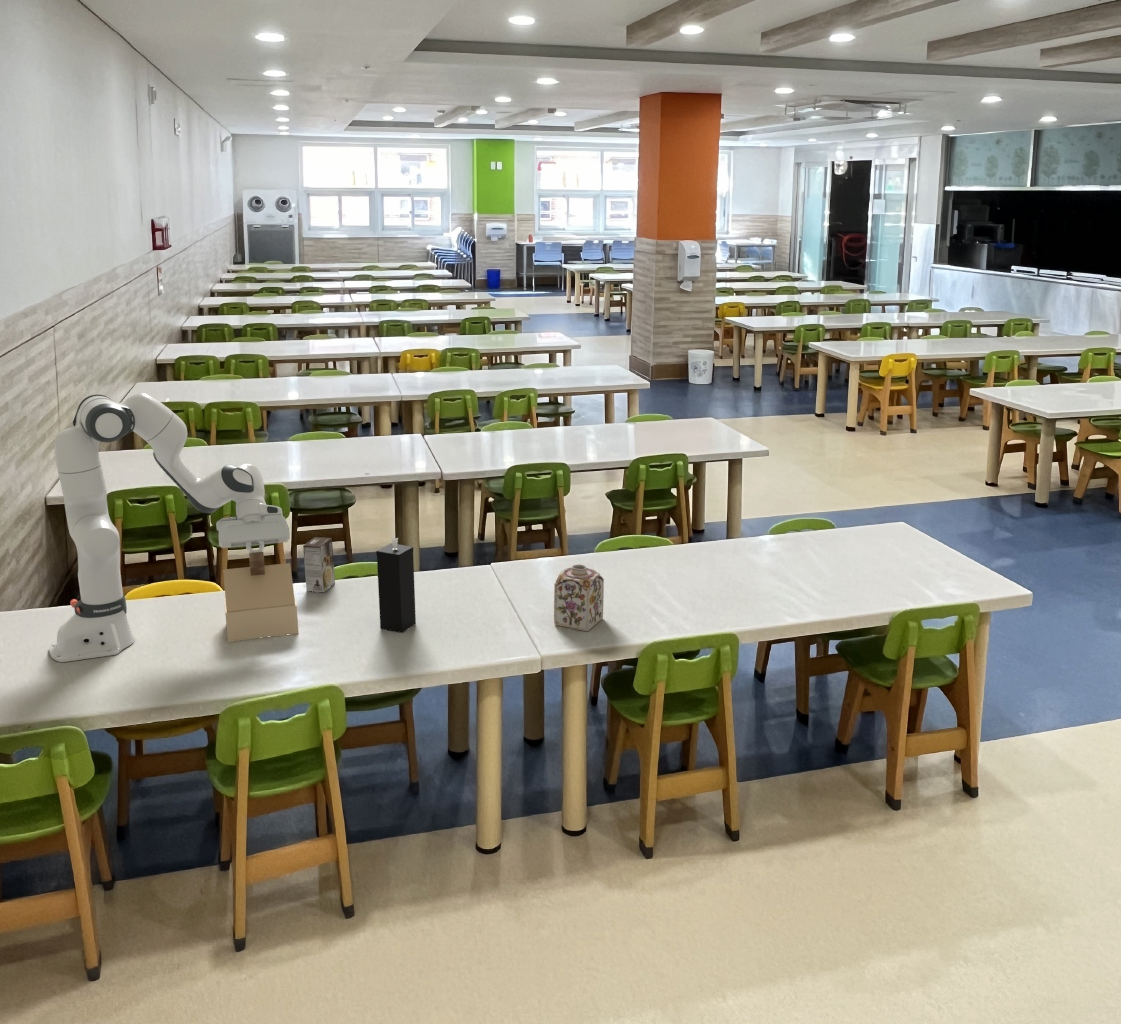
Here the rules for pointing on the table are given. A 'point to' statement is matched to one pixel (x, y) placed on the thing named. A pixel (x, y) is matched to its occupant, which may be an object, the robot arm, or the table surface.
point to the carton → (261, 623)
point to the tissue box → (396, 587)
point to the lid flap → (258, 586)
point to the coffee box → (319, 564)
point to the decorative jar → (578, 598)
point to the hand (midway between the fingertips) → (256, 556)
